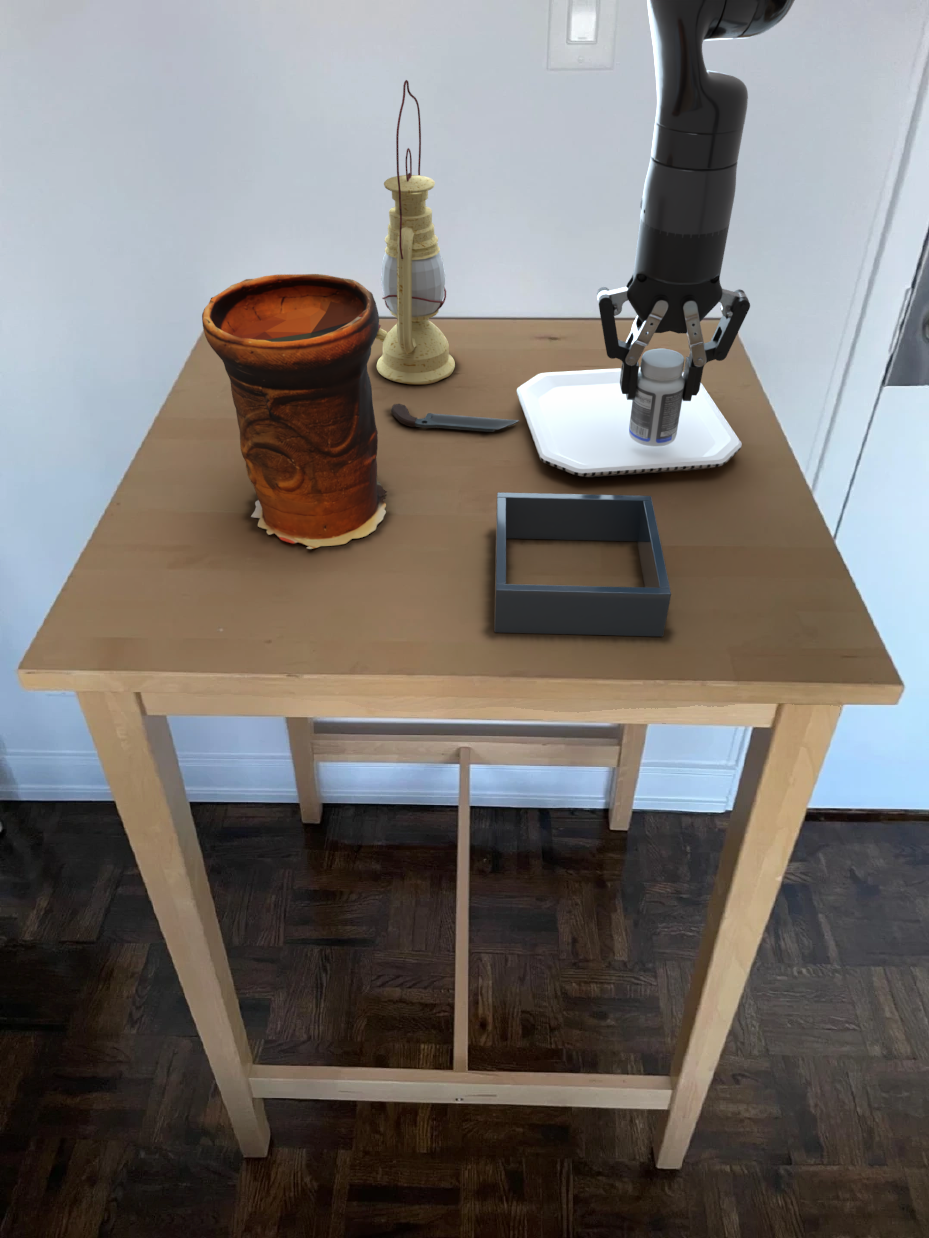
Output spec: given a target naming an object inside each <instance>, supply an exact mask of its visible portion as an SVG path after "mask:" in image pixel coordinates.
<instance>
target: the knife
mask: <svg viewBox="0 0 929 1238" xmlns="http://www.w3.org/2000/svg"><path fill="white" fill-rule="evenodd" d="M390 412H391V414H392V415H393V417H394V418H395V419H396V420H397V421H398V422H399V423H401V424H402V425H405V426H408V427H411V428H416V427H418V428H424V429H428V428H429V429H432V428H433V429H435V428H437V429H439V428H440V429H451V430H463V431H475V432H488V433H493V432H495V431H498V430H502V429H505V428H507V427H511V426H513V425H515V424H517V423H519V422H520V419H506V418H496V417H495V418H493V417H483V416H470V415H457V414H446V413H445V414H444V413H432V412H428V413H427V414H426V415H425V417H422V418H418V417H416V416H412V415H411V414H410V413H409V409H408V407H407V406H406V405H405V404H402V403H394V404H393V405H392V407H391V409H390Z"/></svg>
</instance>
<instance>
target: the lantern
mask: <svg viewBox="0 0 929 1238" xmlns="http://www.w3.org/2000/svg"><path fill="white" fill-rule="evenodd" d="M402 87H403V88H402V100H401V105H400V108H399V111H398V118H397V124H396V135H395V137H396V138H395V139H396V141H395V142H396V143H395V144H396V148H395V149H396V151H395V152H396V176H391V177H388V178H387V179H386V180H384V182H383V186H384V188H385V189H386V190H387V191H390V192H391V199H392V200H393V201H394V206H393V207H391V208H390V209H389V210H388V217H389V223H388V224H387V234H386V236H385V238H384V242H385V243H386V247H385V248H384V252H385V253H384V255H383V257H382V262H381V274H380V283H381V290H382V296H383V297H381V299H382V300H384V305H385V307H386V308H387V309H388V310H389V313H390V314H391V316H393V317H394V318H396V322H397V323H395V324H394V325H393V326H392V328H391V329H390V330H389V331H386V330H385V329H383V328H381V326H382V325H381V324H379V327H378V333H377V336H376V338H375V340H379V341H380V342H381V343H382V355H381V356H380V357H379V358H378V360H377V363H376V371H377V372H378V374H380V375H381V376H382V377H383V378H386V380H390V381H393V382H396V383H401V384H407V385H429V384H434V383H437V382H439V381H441V380H443V379H446V378H448V377H449V376H451V375H452V374H453V373H454V370H455V367H456V364H455V359H454V357H453V356H452V355H451V354H450V352H449V351H450V350H449V349H450V348H449V347H450V346H449V341H448V339H447V337H446V336H445V334H444V333H443V332H442V331H441V329H440V328H439V327H437V325H435V324H434V322H432V321H430V320H429V319H431V318H434V317H435V316H437V315H438V313H439V310H440V309H441V308H442V307H443V305H444V304H445V301H446V299H447V290H446V287H445V285H446V271H445V265H444V259H443V257H442V255H441V253H440V251H441V248H440V246H439V243H438V242H439V237H438V236H437V235H436V234H435V224H434V223H433V210H432V208H431V207H429V206H427V204H426V200H427V201H428V199H429V191H430V190H432V189H433V188H435V184H436V182H435V180H434V179H433V178H431V177H428V176H425V175H421V159H422V157H421V156H422V126H421V124H422V123H421V111H420V105H419V101H418V99H417V98H416V96H415V95H413V93H412V92H411V90H410V84H409V80H407V79H405V80H404V82H403V85H402ZM406 90H407V93H408V95H409V96H410V97H411V98H412V99H413V100H414V102H415V104H416V108H417V118H418V163H417V164H418V165H417V167H418V168H417V174H413V171H412V170H413V167H412V165H413V162H412V152H411V149H410V148H409V147H407V148H406V151H405V152H406V153H405V174H401V175H400V159H399V158H400V156H399V155H400V153H399V137H400V136H399V135H400V126H401V125H400V124H401V120H402V119H401V118H402V113H403V109H404V105H405V101H406ZM408 155H409V156H408ZM408 157H409V172H408Z"/></svg>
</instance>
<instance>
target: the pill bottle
mask: <svg viewBox="0 0 929 1238" xmlns="http://www.w3.org/2000/svg"><path fill="white" fill-rule="evenodd" d="M639 367H640V372H639V373H638V379H637V386H636V394H635V400H632V409H631V417H630V425H629V435H630V437H631V438H632V439H633V440H634V441H636V442H637V443H639V444H642V445H646V446H665V445H668V444H670V443H672V442H673V441H674V440H675V438H676V435H677V429H678V422H679V417H680V410H681V404H682V398H683V391H684V385H685V380H684V377H683V376H682V373H683V372H684V367H685V357H684V355H683V354H682V353H680V352H679V351H677V350H673V349H670V348H662V347H661V348H660V347H659V348H653V349H648V350H646V351H645V352H643V353H642V354H641V360H640V364H639Z"/></svg>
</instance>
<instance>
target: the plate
mask: <svg viewBox="0 0 929 1238" xmlns="http://www.w3.org/2000/svg"><path fill="white" fill-rule="evenodd" d="M639 372H640V366H639ZM639 372H638V373H639ZM683 373H684V371H683ZM683 373H682V376H683ZM620 375H621V367H620V368H619V367H618V368H603V369H586V370H569V371H567V370H565V371H552V372H551V371H549V372H540V373H537V374H536V375H535V376H533V377H531V378H530V379H528V380H527V381H526V382H524V383H522V384H520V386H518V387H517V388H516V395H517V398H518V401H519V404H520V407H521V409H522V412H523V415H524V418H525V421H526V423H527V427H528V430H529V432H530V434H531V437H532V440H533V442H534V446H535V449H536V451H537V455H538V458H539V460H540V461H541V462H542V463H543V464H546V465H548V466H551V467H552V468H553V467H554V468H556V469H558V470H561V471H563V472H567V473H569V474H572V475H574V476H577V477H578V476H579V477H585V478H598V477H611V476H627V475H642V474H643V475H644V474H654V473H655V474H656V473H670V472H671V473H672V472H685V471H686V472H687V471H696V470H697V471H698V470H705V469H710V468H711V469H712V468H719V467H722V466H724V465H726V464H727V463H728V462H729V461H730V460H731V459H733V457H734V456H735V455H736V454H737V453H738V452H740V450H741V449H742V441H741V440H740V438H739V437H738V436H737V433H735V431H734V429H733V427H731V425H730V423H729V422H728V421H727V419H726V417H725V416H724V414H723V413H722V412H721V410H720V408H719V407H718V405H717V404H716V403H715V401H714V400H713V397H712V396H711V395H710V393H709V392H708V391H707V390H706V388H705V386H704V385H703V383H702V382H701V384H700V389H699V392H698V394H697V395H696V396H693V395H692V398H691V401H683V399H682V404H681V410H680V417H679V422H678V429H677V435H676V438H675V440H674V441H673V442H672V443H670V444H668V445H665V446H646V445H642V444H639V443H637V442H636V441H634V440H633V439H632V438H631V437H630V435H629V425H630V417H631V409H632V400H627V398H626V394H622V391H621V387H620Z"/></svg>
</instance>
